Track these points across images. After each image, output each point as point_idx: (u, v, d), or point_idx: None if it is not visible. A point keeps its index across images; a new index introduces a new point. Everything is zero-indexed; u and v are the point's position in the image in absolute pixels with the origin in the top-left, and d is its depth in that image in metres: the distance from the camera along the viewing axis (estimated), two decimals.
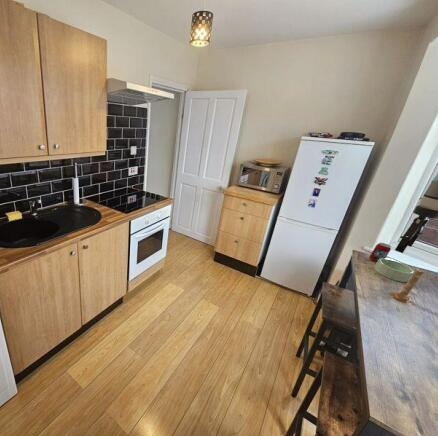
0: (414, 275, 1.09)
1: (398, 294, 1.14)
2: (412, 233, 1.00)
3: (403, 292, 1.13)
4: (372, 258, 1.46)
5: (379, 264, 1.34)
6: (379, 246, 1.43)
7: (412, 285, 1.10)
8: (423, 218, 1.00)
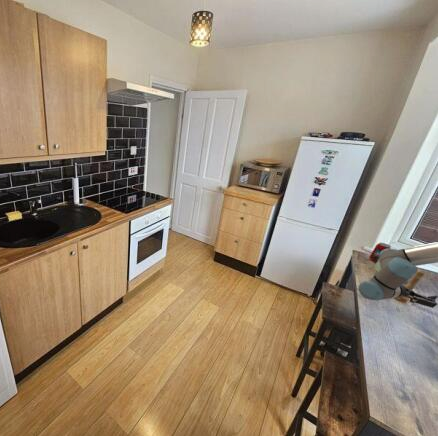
0: (415, 276, 1.08)
1: None
2: (429, 302, 0.94)
3: None
4: (372, 258, 1.46)
5: (379, 264, 1.34)
6: (379, 246, 1.43)
7: (413, 286, 1.10)
8: (406, 294, 0.96)
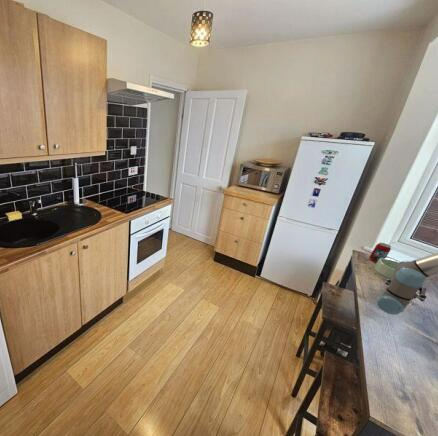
0: None
1: None
2: None
3: None
4: (372, 258, 1.46)
5: (379, 264, 1.34)
6: (379, 246, 1.43)
7: None
8: (415, 296, 1.01)
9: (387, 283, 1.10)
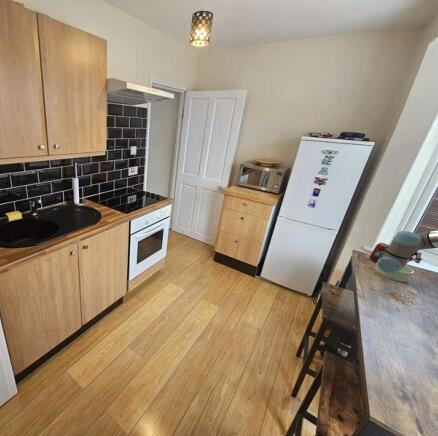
0: None
1: None
2: (420, 255, 1.15)
3: None
4: (372, 258, 1.46)
5: None
6: (379, 246, 1.43)
7: None
8: (411, 258, 1.11)
9: (386, 249, 1.20)
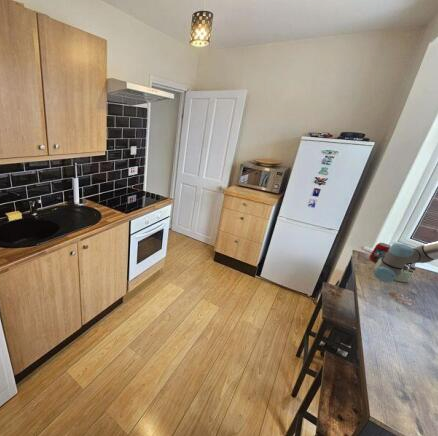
0: None
1: None
2: (414, 265, 1.23)
3: None
4: (372, 258, 1.46)
5: (379, 264, 1.34)
6: (379, 246, 1.43)
7: None
8: (406, 268, 1.20)
9: (383, 259, 1.29)
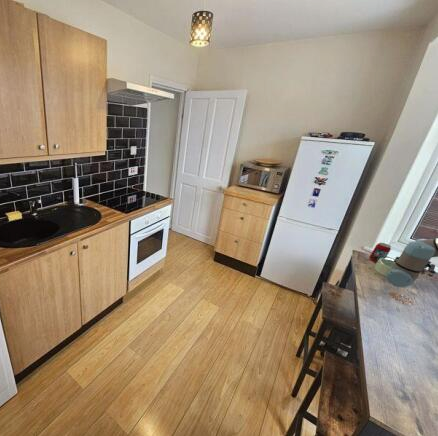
0: None
1: None
2: None
3: None
4: (372, 258, 1.46)
5: (379, 264, 1.34)
6: (379, 246, 1.43)
7: None
8: (424, 271, 1.02)
9: (396, 260, 1.11)
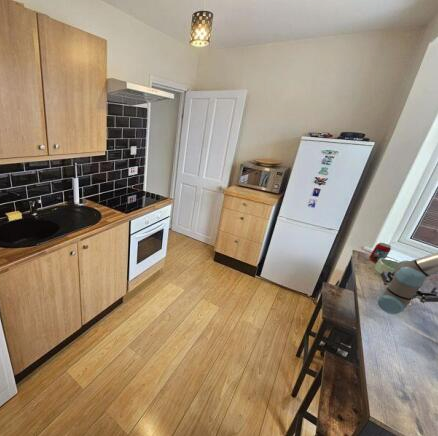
0: None
1: None
2: (436, 298, 1.00)
3: None
4: (372, 258, 1.46)
5: (379, 264, 1.34)
6: (379, 246, 1.43)
7: None
8: (415, 295, 1.01)
9: (386, 284, 1.09)
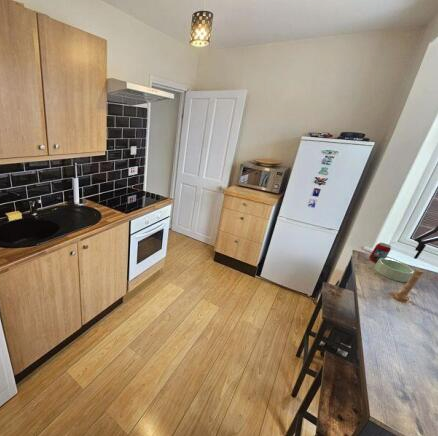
0: (414, 275, 1.09)
1: (398, 294, 1.14)
2: (422, 235, 0.97)
3: (403, 292, 1.13)
4: (372, 258, 1.46)
5: (379, 264, 1.34)
6: (379, 246, 1.43)
7: (412, 285, 1.10)
8: None
9: None
